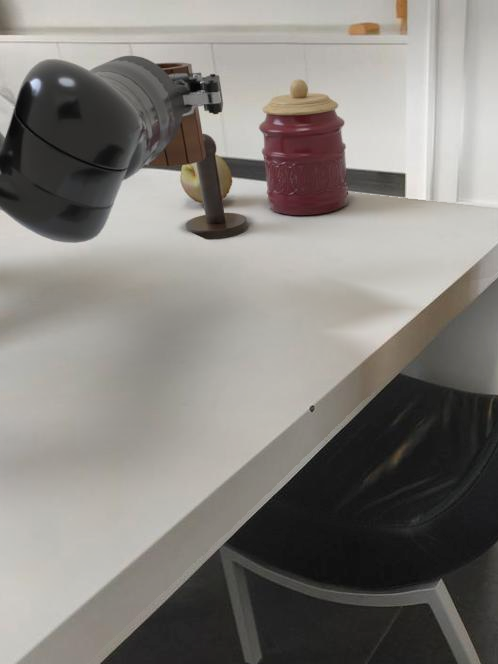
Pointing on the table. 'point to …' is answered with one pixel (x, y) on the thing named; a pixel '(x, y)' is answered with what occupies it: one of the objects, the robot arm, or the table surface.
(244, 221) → the round-topped peg stand
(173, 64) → the wooden slatted cup
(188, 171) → the fruit
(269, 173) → the kitchen canister
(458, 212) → the table surface
